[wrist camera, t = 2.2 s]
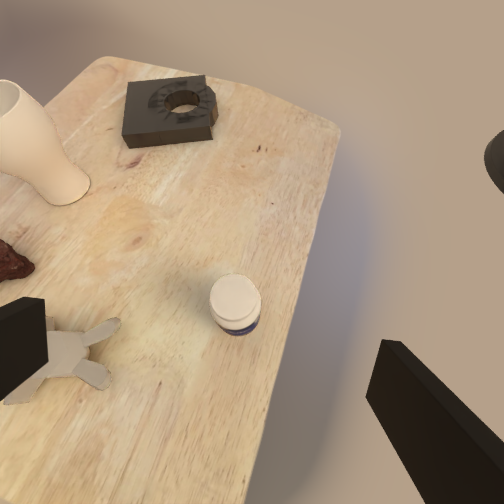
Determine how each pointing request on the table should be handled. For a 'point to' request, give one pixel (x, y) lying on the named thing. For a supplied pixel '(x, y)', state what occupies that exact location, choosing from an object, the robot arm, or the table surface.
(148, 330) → the table surface
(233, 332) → the pill bottle
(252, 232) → the table surface
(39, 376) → the beige blocky figure
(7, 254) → the rock
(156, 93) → the bottle holder base
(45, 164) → the cup
